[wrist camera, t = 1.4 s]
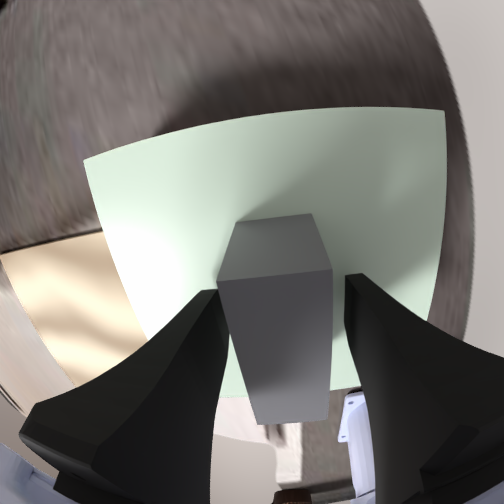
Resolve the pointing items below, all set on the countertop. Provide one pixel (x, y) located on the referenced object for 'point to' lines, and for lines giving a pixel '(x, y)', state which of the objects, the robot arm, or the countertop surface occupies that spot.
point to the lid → (278, 235)
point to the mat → (76, 303)
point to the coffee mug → (292, 497)
